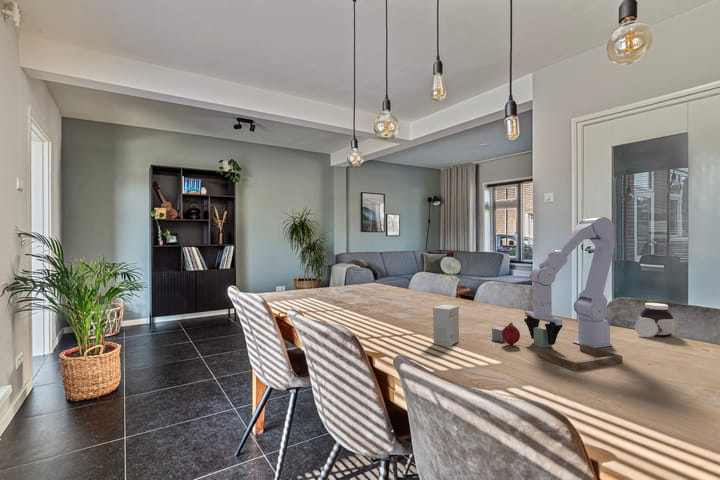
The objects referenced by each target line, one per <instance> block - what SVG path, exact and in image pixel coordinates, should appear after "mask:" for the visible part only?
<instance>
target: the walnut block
mask: <svg viewBox="0 0 720 480" xmlns="http://www.w3.org/2000/svg"><path fill="white" fill-rule="evenodd" d="M579 351H581V352H584V353H587V354H590V355H594V356H596V358H589V359H583V360H576V361H574V360H572V359H569V358H566V357H563V356H561V355H559V354H556V353H552V352H550V351H547V350H544V349H538V357H540V358H542V359H545V360H547V361H550V362H552V363H555V364H558V365H560V366H562V367H566V368H568V369H571V370H572V371H581V370H587V369H592V368H593V369H594V368H600V367H603V366H604V367H605V366H611V365H616V364H622V363H623V355H620V354H617V353H614V352H611V351H607V350H604V349H600V348H594V347H591V346H588V345H585V344H579Z"/></svg>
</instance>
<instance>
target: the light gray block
mask: <svg viewBox="0 0 720 480" xmlns="http://www.w3.org/2000/svg"><path fill="white" fill-rule="evenodd" d="M504 328H505V327H501V326H496V327H493V328H491V339H492V340H494V341H500V342H505V340H504V339H503V337H502V331H503V329H504Z"/></svg>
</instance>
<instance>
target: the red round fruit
mask: <svg viewBox="0 0 720 480" xmlns="http://www.w3.org/2000/svg"><path fill="white" fill-rule="evenodd" d="M503 328H504V329H503V331H502V337H503V339H504V342H505V343H506V344H508V345H509V346H514V344H515V345H516V343H518V342H519V340H520V338H521V333H520V331H519V328H517V327H516V326H515V325H514V324H513V322H511V321H510V322H509V323H508V325H505V327H503Z"/></svg>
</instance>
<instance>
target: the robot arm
mask: <svg viewBox="0 0 720 480" xmlns="http://www.w3.org/2000/svg"><path fill="white" fill-rule="evenodd" d="M615 229H616V226H615V224H614V223H613V222H612V220H611V219H610V218H608V217H606V216H601V217H600V216H599V217H591V218H582V219H581V220H580V221H579V223H577V225H576V226H574V230H573V231H572V232H571V234H570V235H569V236H568V237H567V239H566V240H565V241H564V243H563V244H562V245H561V246H560V247H559V248H558V249H556V250H552V251H549V252H548V253H547V257H546V258H545V259H544V260H543V261H542V262H539V263H538V266H537V267H535V268H533V269H532V271H531V272H530V274H529V279H530V281H531V282H532V287H533V288H532V303H533V308H532V309H533V311H531V310H525V311H524V317H525V318H524V319H523V321H524V322H525V324H526V326H527V328H528V331H529V335H530V338H531V340H534V328H535V327H540V326H539V325H540V322H541V321H543V322H546V323H545V324H544V327H546V330H547V334H548V344H549V345H552V346H553V345H556V342H557V341H556V340H557V338H558V335H559V333H560V330H562V328H563V319H562V318H559V317H557V316H555V315H552V314H553V312H552V311H553V308H552V307H553V306H552V304H553V302H552V301H553V300H552V293H553V292H552V291H553V290H552V284H553V283H554V282H555V281H556V277H557V276H556V275H557V274H558V273H559V271H560V270H562V269H563V267H564V266H565V265H566V264H567V262H568V260H569V259H568V256H569V255H570V254H571V253H572V252H573V251H574V250H575V249H576V248H578V246H579V245H580V244H581V243H583V241H584V240H589V241H591V243H592V244H593V245H594V247H595V248H594V252H593V255H592V260H591V264H590V267H589V271H588V275H587V278H586V283H585V288H584V290H582V291H581V292H580V293H579V294H578V297H577V298H576V300H574V303H573V310H574V312H575V314H577V317H578V318H577V320H578V321H577V322H578V323H577V324H578V327H577V328H578V329H577V331H578V339H577V340H572V343H574V344H577V345H580V344H585V345H588V346H591V347H594V348H598V349H600V348H606V347H612V346H613V344H612V343H611V327H610V324H609V322H608V320H606V317H607V315H608V311H609V309H608V299H607V298H606V296H605V295H604V293H605V292H604V291H605V288H606V283H607V279H608V276H609V272H610V269H611V263H612V260H613V256H614V253H615V252H614V251H615V247H616V240H615V239H616V238H615V234H614V233H615Z"/></svg>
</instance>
